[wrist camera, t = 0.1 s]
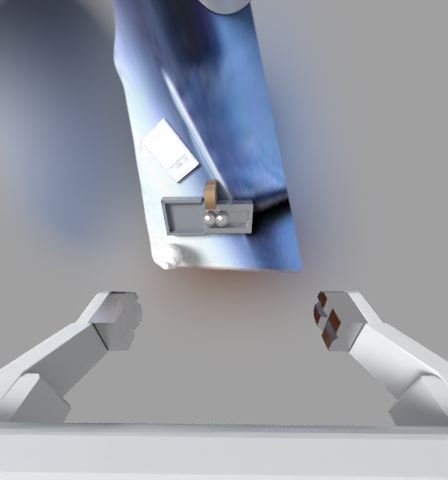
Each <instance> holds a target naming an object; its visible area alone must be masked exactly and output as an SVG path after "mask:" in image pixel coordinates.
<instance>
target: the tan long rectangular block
mask: <svg viewBox="0 0 448 480" xmlns="http://www.w3.org/2000/svg"><path fill="white" fill-rule="evenodd" d="M204 200H205V210H216V202H217V179H211V180H207V183H206V186H205V189H204Z"/></svg>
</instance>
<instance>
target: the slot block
mask: <svg viewBox="0 0 448 480" xmlns="http://www.w3.org/2000/svg"><path fill="white" fill-rule="evenodd" d="M201 209H202V211H203V219H204V215H205V213H206V212H208V211H211V212H214V213H215V215H217V213H218V212H220V211H224V212H226V213H227V215H228V223H227V225H226V226H223V227H221V226H218V225H217V224H216V220H215V224H214V225H213V226H211V227H208V226H206V225H204V226H203V234H208V233H251V231H252V216H253V202H252V200H217V202H216V210H205V200H202V204H201Z"/></svg>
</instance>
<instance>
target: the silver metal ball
mask: <svg viewBox="0 0 448 480" xmlns="http://www.w3.org/2000/svg"><path fill="white" fill-rule="evenodd" d="M227 223H228V215H227V213H226V212H224V211H220V212H218V213H217V215H216V224H217V225H218V226H221V227H223V226H226V225H227Z"/></svg>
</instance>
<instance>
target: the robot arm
mask: <svg viewBox="0 0 448 480" xmlns="http://www.w3.org/2000/svg"><path fill="white" fill-rule="evenodd" d="M199 1H200V2H201V3H202V4H203V5H204V6H205V7H207V8H208V9H209V10H211V11H213V12H216V13H219V14H231V13H234V12H237V11H239V10H241V9H242V8H243V7H245V6H246V5H247V4H248V3H249V2H250V1H251V0H199ZM137 299H138V296H137V294H136V292H114V291H112V292H106V291H105V292H104V291H101V292H99V293H97V294H96V296H95V297H94V298H93V300H92V301H91V302H90V304H89V305H88V306H87V308H86V309H85V311H84V312H83V313H82V315H81V316H80V317H79V319H78V320H77V321H76V323H71V324H70V325H68V326H67V327H65V328H63V329H62V330H60V331H59V332H57V333H56V334H54V335H53V336H51V337H49V338H48V339H46V340H45V341H43V342H42V343H40V344H39V345H37V346H36V347H34V348H32V349H31V350H30V351H28V352H27V353H25V354H23V355H22V356H20V357H19V358H17V359H15V360H14V361H12V362H11V363H9V364H8V365H6V366H5V367H3V368H2V369H0V480H448V362H447V361H446V360H444V359H442V358H441V357H439V356H438V355H436V354H435V353H433V352H431V351H430V350H428V349H427V348H425V347H423V346H422V345H420V344H419V343H417V342H415V341H413V340H412V339H411V338H409V337H408V336H406V335H404V334H403V333H401V332H400V331H398V330H396V329H395V328H393V327H392V326H390V325H389V324H383V323H382V321H381V320H380V319H379V317H378V316H377V315H376V313H375V312H374V311H373V310H372V309H371V307H370V306H369V304H368V303H367V302H366V300H365V299H364V298H363V297H362V295H361V294H360V293H359V292H357V291H321V292H320V293H319V294H318V300H319V302H318V303H316V304H315V306H314V318H315V322H316V324H317V326H318V327H319V328H320V329H321V330H323V332H322V338H323V340H324V342H325V345H326V347H327V349H328V351H349V353H350V354H351V355H352V356H353V357H354V358H355V359H356V360H357V361H358V362H359V363H361V364H362V365H363V367H365V368H366V369H367V370H368V371H369V372H370V373H371V374H372V375H373V376H374V377H375V378H376V379H377V380H378V381H379V382H380V383H381V384H382V385H383V386H384V387H385V388H386V389H387V390H388V391H389V392H390V393H391V394H392V395H393V396H394V397H395V398H396V399H397V401H396V402H395V403H394V404H393V405H392V406H391V407H390V408H389V411H388V412H389V413H390V415H391V417H392V419H393V421H394V423H395V424H396V426H354V425H351V426H350V425H348V426H347V425H252V424H251V425H250V424H247V425H246V424H147V423H144V424H143V423H64V421H65V419H66V417H67V415H68V413H69V411H70V410H71V407H70V404H69V403H68V402H67V401H66V400H64V398H63V396H64V395H65V394H66V393H67V392H68V391H69V390H70V389H71V388H72V387H73V386H74V385H75V384H76V383H77V382H78V381H79V380H80V379H81V378H82V377H83V376H84V375H85V374H86V373H87V372H88V371H89V370H90V369H91V368H92V367H93V366H94V365H95V364H96V363H97V362H98V361H99V360H100V359H101V358H102V357H103V356H104V355H105V354H106V353H107V352H108V351H117V350H128V349H129V347H130V345H131V342H132V340H133V338H134V332H133V330H134V329H136V328H137V327H138V326H139V324H140V321H141V317H142V308H141V305H140V304H139V303H138V302H136V301H137Z"/></svg>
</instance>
